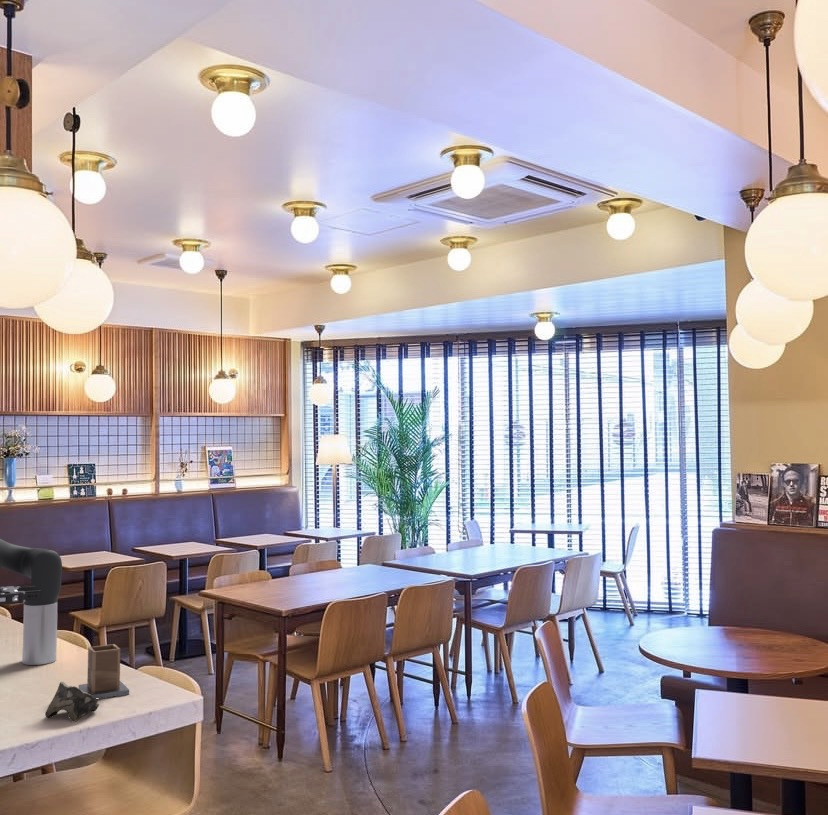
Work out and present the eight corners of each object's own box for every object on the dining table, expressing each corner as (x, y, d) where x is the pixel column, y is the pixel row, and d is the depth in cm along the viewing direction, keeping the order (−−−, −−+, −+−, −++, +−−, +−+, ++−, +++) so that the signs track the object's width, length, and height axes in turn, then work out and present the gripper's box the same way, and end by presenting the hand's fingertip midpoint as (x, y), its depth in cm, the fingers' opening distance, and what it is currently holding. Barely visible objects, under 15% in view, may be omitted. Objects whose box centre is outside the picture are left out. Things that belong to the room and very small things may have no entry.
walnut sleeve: (87, 686, 213) (88, 647, 213) (113, 682, 216) (114, 644, 217) (92, 692, 207) (93, 652, 208) (119, 688, 210) (120, 648, 211)
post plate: (78, 689, 214) (79, 657, 214) (118, 683, 219) (118, 652, 220) (87, 700, 204) (88, 667, 204) (129, 694, 209) (129, 661, 210)
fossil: (108, 706, 197) (99, 674, 193) (88, 736, 189) (78, 703, 185) (67, 703, 199) (58, 671, 195) (46, 732, 191) (35, 699, 187)
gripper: (-36, 609, 207) (34, 603, 216) (-31, 618, 195) (43, 611, 204) (-35, 579, 208) (35, 574, 216) (-30, 586, 196) (43, 581, 204)
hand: (39, 592), depth 210 cm, fingers open, 8 cm apart
